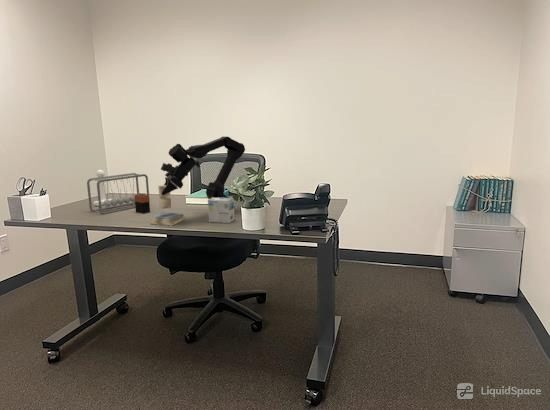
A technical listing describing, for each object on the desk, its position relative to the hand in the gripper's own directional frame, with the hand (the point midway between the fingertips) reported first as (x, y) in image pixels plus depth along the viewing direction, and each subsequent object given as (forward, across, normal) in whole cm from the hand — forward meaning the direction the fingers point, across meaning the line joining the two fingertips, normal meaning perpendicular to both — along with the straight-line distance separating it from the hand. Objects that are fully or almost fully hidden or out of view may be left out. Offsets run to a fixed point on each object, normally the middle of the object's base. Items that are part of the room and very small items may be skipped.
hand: (161, 193), depth 188 cm
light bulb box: (-8, +9, +28) cm, 30 cm away
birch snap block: (+4, 0, +6) cm, 7 cm away
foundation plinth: (+8, +1, +11) cm, 14 cm away
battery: (+15, -27, +4) cm, 31 cm away
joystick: (+28, -56, -9) cm, 64 cm away
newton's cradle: (+22, -41, -3) cm, 47 cm away
